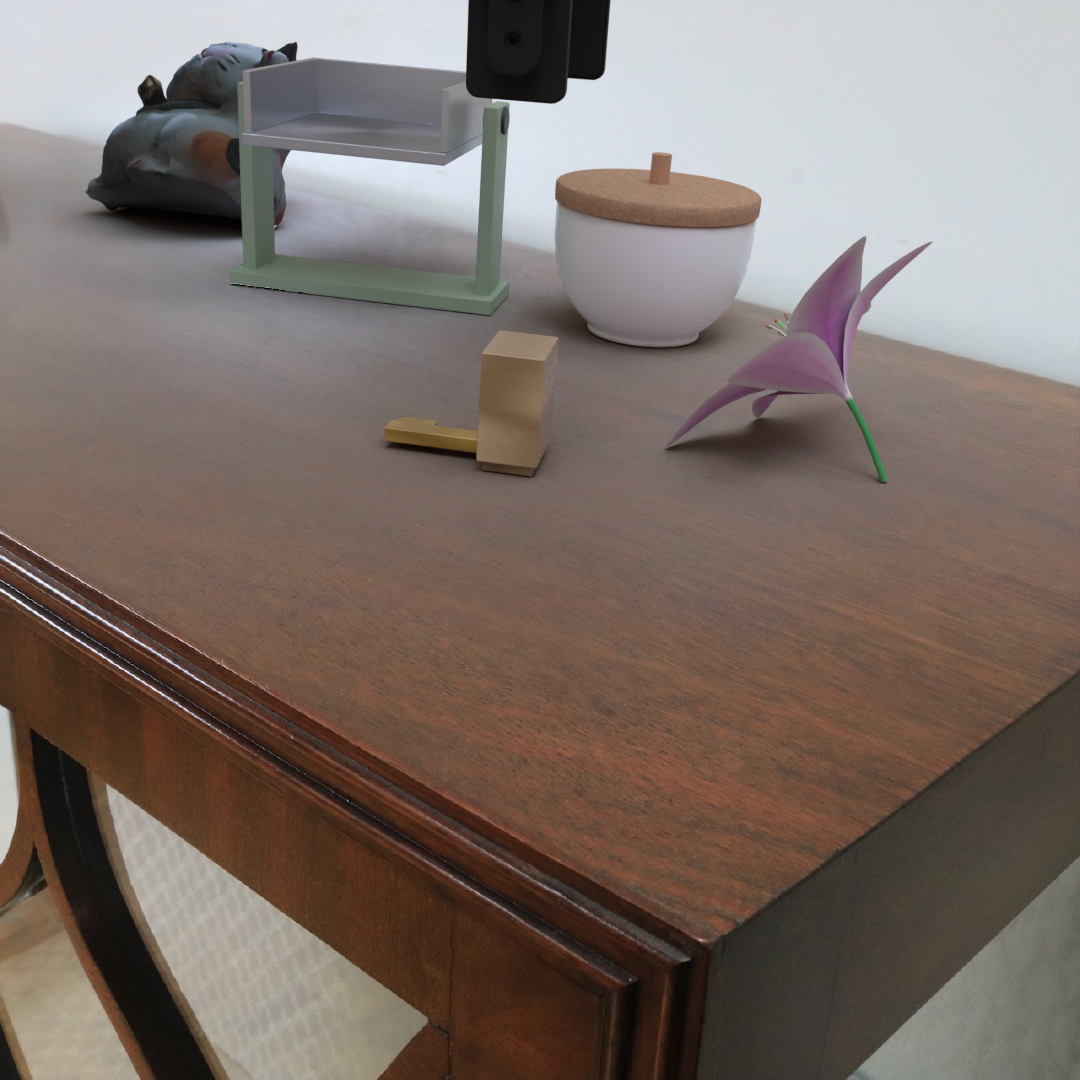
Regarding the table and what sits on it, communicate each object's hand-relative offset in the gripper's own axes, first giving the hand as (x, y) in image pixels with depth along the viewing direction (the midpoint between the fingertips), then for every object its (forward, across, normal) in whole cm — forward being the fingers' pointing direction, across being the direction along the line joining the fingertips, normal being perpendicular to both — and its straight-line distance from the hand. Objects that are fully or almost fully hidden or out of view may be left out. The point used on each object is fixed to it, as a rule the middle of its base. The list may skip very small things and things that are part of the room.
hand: (541, 87), depth 44 cm
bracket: (+14, -22, -13) cm, 29 cm away
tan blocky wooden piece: (+14, +1, -2) cm, 14 cm away
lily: (+14, -4, +11) cm, 18 cm away
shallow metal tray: (+5, -26, -13) cm, 30 cm away
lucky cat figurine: (+14, -36, -30) cm, 48 cm away
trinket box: (+14, -20, +3) cm, 25 cm away
